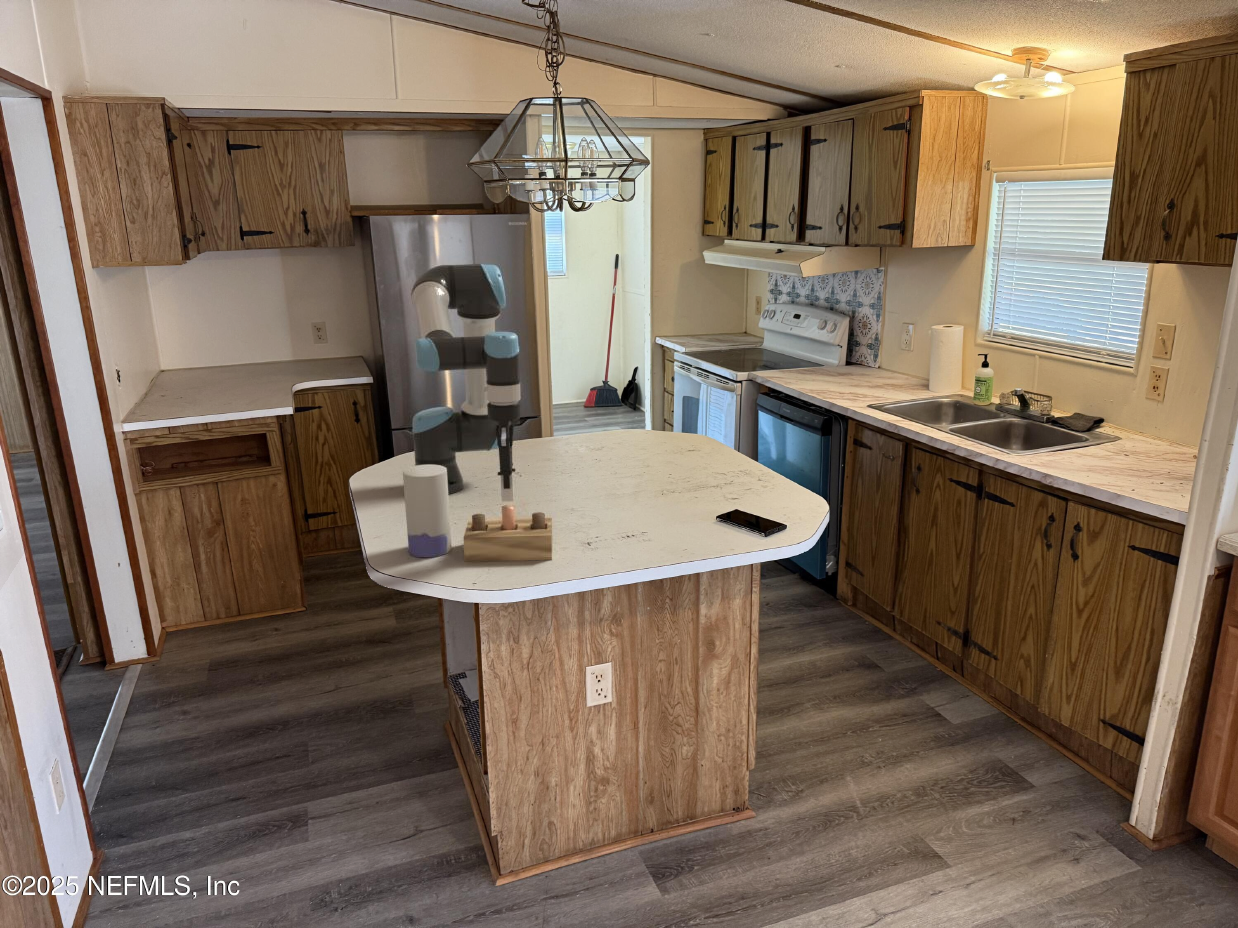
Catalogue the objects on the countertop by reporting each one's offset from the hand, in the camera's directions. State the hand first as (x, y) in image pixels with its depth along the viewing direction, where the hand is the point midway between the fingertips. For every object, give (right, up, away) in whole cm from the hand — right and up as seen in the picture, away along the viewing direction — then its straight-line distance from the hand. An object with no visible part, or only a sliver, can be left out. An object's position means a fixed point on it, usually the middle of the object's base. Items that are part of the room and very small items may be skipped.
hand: (507, 500), depth 201 cm
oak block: (0, -12, +3) cm, 13 cm away
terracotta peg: (0, -9, +2) cm, 10 cm away
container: (-19, -12, +4) cm, 23 cm away
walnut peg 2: (+7, -11, +3) cm, 14 cm away
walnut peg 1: (-7, -11, +2) cm, 14 cm away
